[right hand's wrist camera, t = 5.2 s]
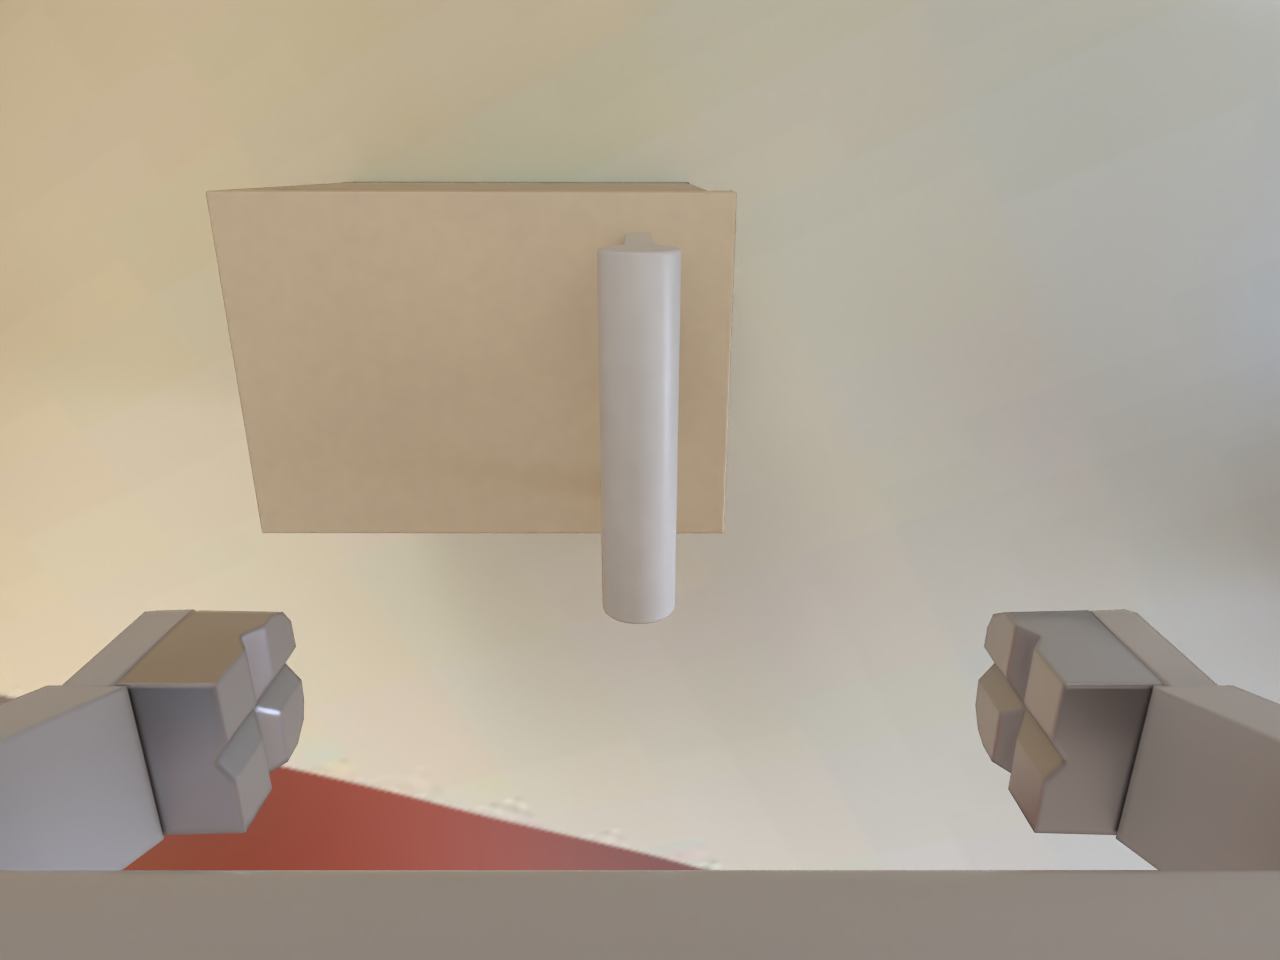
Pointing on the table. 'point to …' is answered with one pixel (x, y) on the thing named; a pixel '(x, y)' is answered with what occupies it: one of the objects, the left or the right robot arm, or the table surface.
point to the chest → (497, 186)
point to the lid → (487, 365)
